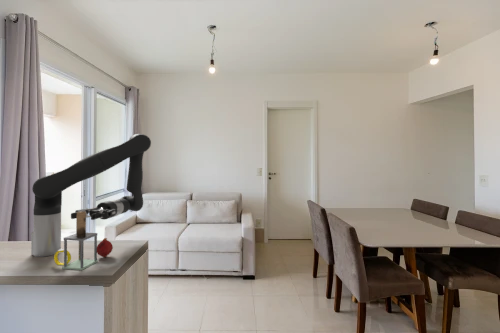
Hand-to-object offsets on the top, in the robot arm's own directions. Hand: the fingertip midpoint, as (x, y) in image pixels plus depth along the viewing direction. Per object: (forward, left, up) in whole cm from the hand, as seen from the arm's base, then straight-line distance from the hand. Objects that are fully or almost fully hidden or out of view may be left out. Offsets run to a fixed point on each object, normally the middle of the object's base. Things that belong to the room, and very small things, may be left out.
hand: (81, 216), depth 95 cm
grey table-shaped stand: (0, 0, -18) cm, 18 cm away
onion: (+4, +8, -19) cm, 21 cm away
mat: (0, 0, -19) cm, 19 cm away
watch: (-7, -1, -19) cm, 20 cm away
